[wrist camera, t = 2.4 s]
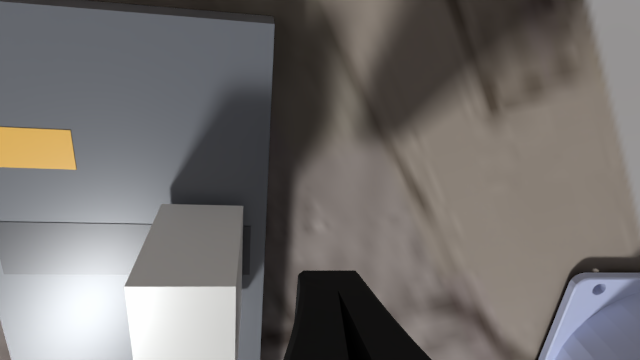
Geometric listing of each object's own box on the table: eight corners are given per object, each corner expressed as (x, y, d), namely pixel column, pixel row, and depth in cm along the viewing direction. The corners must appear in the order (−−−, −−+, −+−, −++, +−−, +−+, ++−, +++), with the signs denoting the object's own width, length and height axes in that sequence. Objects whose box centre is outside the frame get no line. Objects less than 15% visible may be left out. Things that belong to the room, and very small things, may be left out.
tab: (243, 205, 11) (235, 286, 8) (241, 305, 12) (234, 404, 10) (161, 203, 11) (123, 286, 8) (168, 305, 12) (139, 408, 9)
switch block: (273, 16, 12) (274, 23, 10) (252, 512, 21) (251, 563, 19) (-29, -10, 10) (-91, -7, 9) (89, 523, 20) (71, 579, 18)
